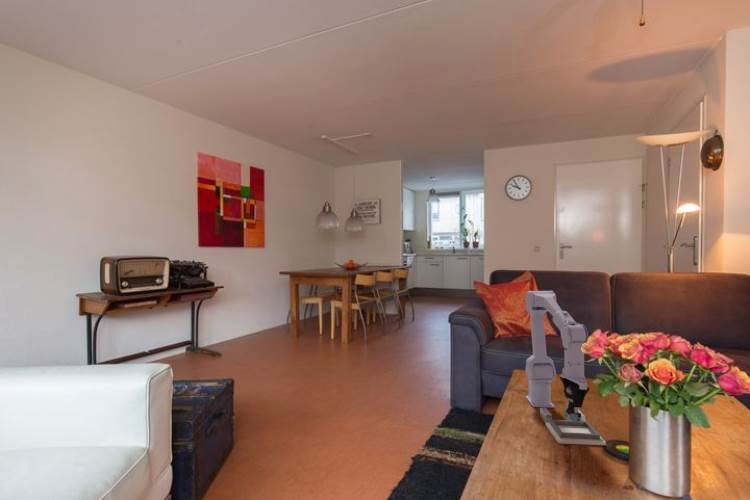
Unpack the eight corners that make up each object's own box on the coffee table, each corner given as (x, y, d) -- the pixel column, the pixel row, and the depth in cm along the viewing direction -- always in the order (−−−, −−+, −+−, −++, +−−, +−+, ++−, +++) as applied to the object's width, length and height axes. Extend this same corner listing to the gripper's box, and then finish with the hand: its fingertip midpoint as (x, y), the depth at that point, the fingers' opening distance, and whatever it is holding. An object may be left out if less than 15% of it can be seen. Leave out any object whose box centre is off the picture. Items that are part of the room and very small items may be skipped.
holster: (540, 415, 138) (540, 407, 138) (578, 417, 137) (578, 408, 137) (546, 423, 132) (546, 415, 132) (585, 425, 131) (585, 416, 131)
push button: (589, 423, 122) (589, 392, 122) (576, 426, 120) (576, 395, 120) (572, 414, 128) (572, 384, 128) (559, 416, 127) (560, 387, 126)
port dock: (545, 425, 131) (545, 417, 131) (588, 426, 130) (588, 419, 130) (558, 443, 120) (558, 435, 119) (605, 445, 118) (605, 437, 118)
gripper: (553, 354, 132) (553, 393, 132) (570, 368, 117) (570, 412, 118) (574, 355, 131) (574, 394, 131) (594, 369, 117) (594, 413, 117)
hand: (574, 403), depth 125 cm, fingers closed on push button, 5 cm apart
